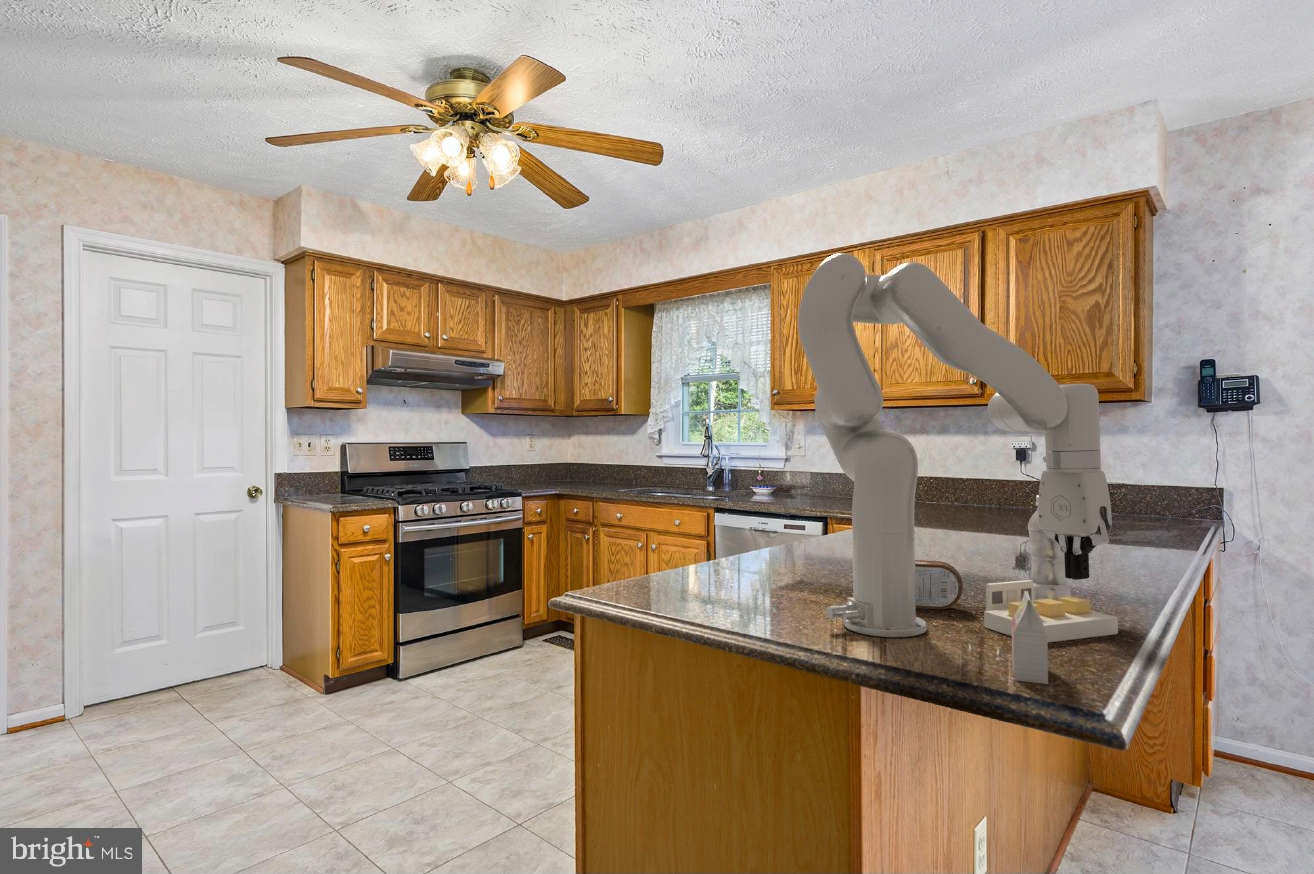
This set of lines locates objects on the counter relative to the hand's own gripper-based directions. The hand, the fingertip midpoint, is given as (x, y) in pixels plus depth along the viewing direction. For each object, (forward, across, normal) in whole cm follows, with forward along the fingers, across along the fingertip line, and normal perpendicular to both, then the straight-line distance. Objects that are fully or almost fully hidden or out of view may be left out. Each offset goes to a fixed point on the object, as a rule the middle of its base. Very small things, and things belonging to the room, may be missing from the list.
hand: (1077, 577), depth 112 cm
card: (+8, -8, -6) cm, 13 cm away
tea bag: (+8, +15, -25) cm, 30 cm away
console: (+8, 0, -6) cm, 10 cm away
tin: (+8, -20, -15) cm, 26 cm away
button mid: (+6, 0, -6) cm, 8 cm away
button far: (+7, 0, -1) cm, 7 cm away
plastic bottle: (+8, -10, +5) cm, 14 cm away
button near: (+6, 0, -11) cm, 12 cm away
